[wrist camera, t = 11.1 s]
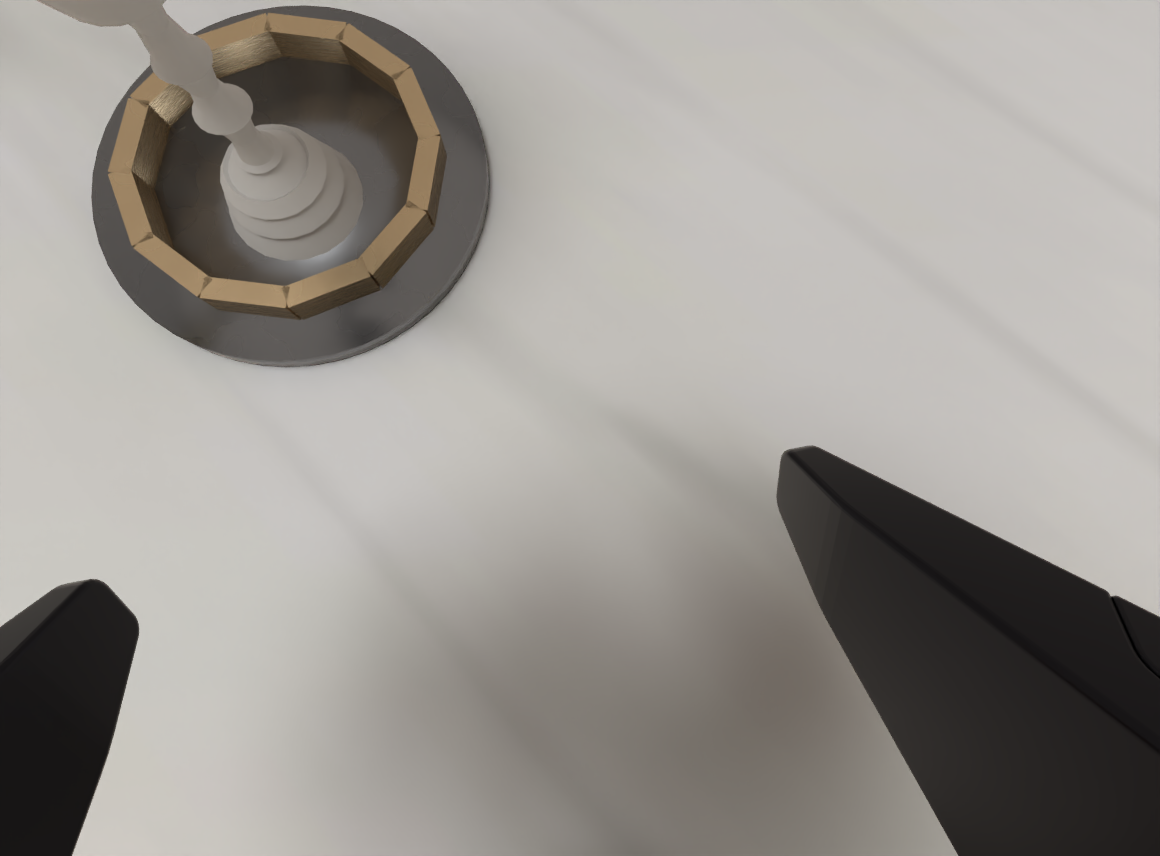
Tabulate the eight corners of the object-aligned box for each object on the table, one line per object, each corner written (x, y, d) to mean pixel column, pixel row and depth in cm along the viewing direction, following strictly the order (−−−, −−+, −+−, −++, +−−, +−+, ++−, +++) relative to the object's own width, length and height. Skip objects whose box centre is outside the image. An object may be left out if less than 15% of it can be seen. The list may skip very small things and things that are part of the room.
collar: (320, 445, 21) (295, 437, 19) (26, 217, 23) (-26, 188, 21) (563, 154, 24) (563, 121, 22) (283, -40, 25) (259, -88, 23)
